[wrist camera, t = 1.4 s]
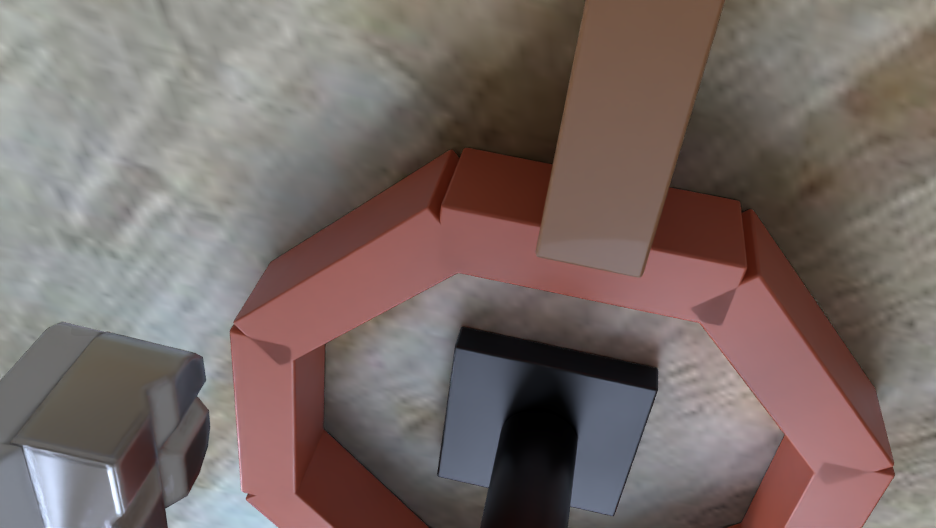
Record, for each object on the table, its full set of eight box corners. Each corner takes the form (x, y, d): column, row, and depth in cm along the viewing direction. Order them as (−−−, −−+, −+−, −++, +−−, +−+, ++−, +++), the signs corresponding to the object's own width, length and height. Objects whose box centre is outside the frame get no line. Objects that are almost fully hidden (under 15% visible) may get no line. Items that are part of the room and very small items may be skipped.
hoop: (251, -157, 16) (163, -109, 13) (1108, -11, 15) (1205, 76, 12) (274, 523, 29) (232, 621, 26) (742, 633, 28) (750, 747, 25)
